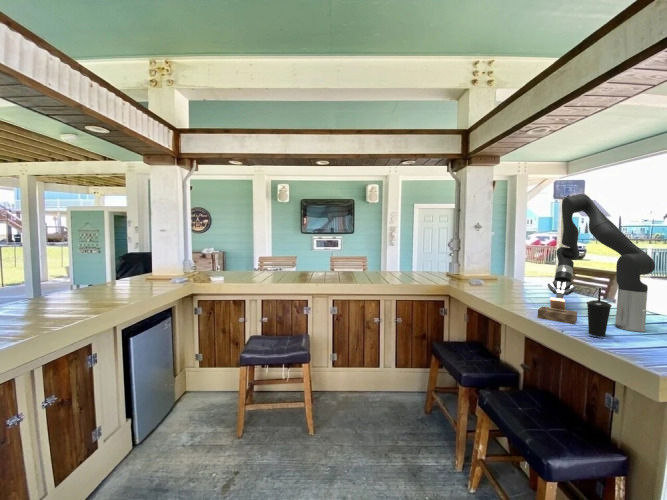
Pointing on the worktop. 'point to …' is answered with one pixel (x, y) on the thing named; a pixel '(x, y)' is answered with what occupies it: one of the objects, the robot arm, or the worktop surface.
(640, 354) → the worktop surface
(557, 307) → the cover plate
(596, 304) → the drinking cup
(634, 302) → the robot arm
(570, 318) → the box
